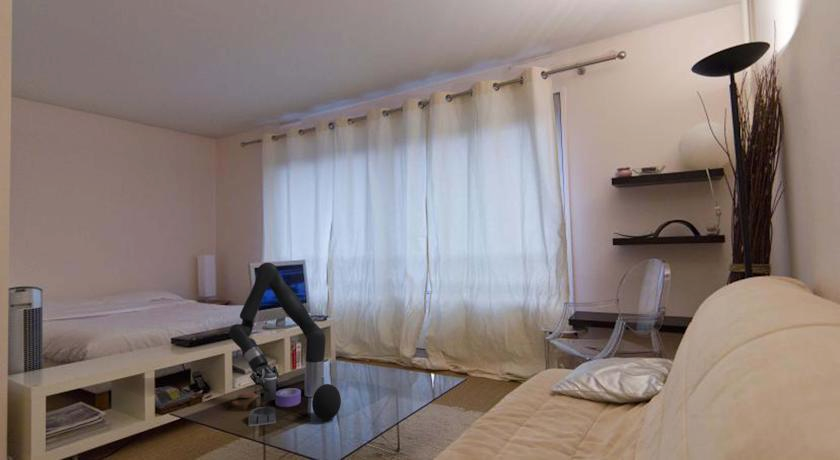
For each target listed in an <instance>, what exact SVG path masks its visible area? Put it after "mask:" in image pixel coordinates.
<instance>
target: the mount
mask: <svg viewBox="0 0 840 460" xmlns="http://www.w3.org/2000/svg"><path fill="white" fill-rule="evenodd" d="M271 424H277V418H276V408H275V407H271V406H260V407H256V408H253V409H251V410H250V411H249V414H248V427H256V426H257V427H258V426H265V425H271Z"/></svg>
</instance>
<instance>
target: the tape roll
mask: <svg viewBox="0 0 840 460" xmlns="http://www.w3.org/2000/svg"><path fill="white" fill-rule="evenodd" d="M301 395H302V390H301V389H299V388H296V387H294V388H293V387H288V388H282V389H279V390H276V399H274V400H275V403H274V404H275V405H276V406H277V407H285V408H288V407H289V408H290V407H294V406H298V405H299V404H300V403H301V400H302V399H301V397H302V396H301Z"/></svg>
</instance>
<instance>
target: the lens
mask: <svg viewBox="0 0 840 460" xmlns="http://www.w3.org/2000/svg"><path fill="white" fill-rule="evenodd" d="M264 379H265V383H267V385H268V387H269V388H270V390H269V391H268V392H266V391H264V390H263V400H264V401H266V402H268V401H269V402H270V401H274V400H275V399H276V392H277V388H276V379H277V380H278V378H277V376H276V373H267V374H265V378H264Z"/></svg>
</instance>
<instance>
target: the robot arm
mask: <svg viewBox="0 0 840 460" xmlns="http://www.w3.org/2000/svg"><path fill="white" fill-rule="evenodd" d="M256 272H257V273H256V276H255V279H254V280H255V281H254V283H253V286H252V288H251V291H250V293H249V295H248V297H247V298H246V299H245V300H246V301H245V303H244V305H243V306H242V309H241V311H240V313H239V318H240V320H242V321H241V324H239V323H236V324H233V325H231V327H230V328H229V330H228V333H229V337H230V339H231V340H232V341H233V342H234V344H235V345H236V346H238V347H239V349H240V350H241V352H242V354H243V356H244V357H245V360H246V363H247V364H248V366H249V368H250V369H251V372H252V373H251V374H250V375H249V379H251V380H252V381H253V383H254V384H255V385H256V386H261V387H262V389H263V392H264V391H266V392H268V391H269V390H270V388H269V387H268V385H267V383H265V379H264V378H265V374H267V373H276V376H277V379H276V389H278V388H279V387H280V382H279V380H278V378H279V377H280V374H279V372H278V368H277V366H276V365H273V366H270V365H269V362H268V360H267V358H266V356H265V355H264V352H263V351H262V350H261V349H260V347H259V346H258V343H257V342H256V341H255V339H253V338H252V337H250V335H251V334H252V332H253V328H254V322H255V318H256V315H257V313H258V312H259V309H260V307H261V304H262V301H263V298H264V297H265V296H264V295H265V294H266V291H267V290H268V288H270V290H271V291H272V292H273V294H274V296H275V298H276V300H277V302H278V304H279V306H280V307H281V308H282V310H283V311H284V313H285V314H286V315H287V316H288V318H290V319H291V320H292V321H293V323H295V324H296V325H297V326H298V328H299V329H300V330H301V332H302V334H303V335H304V337H305V339H306V348H305V351H306V352H305V364H304V366H305V368H304V390H303V392H304V397H307V398H313V396H314V393H315V392H316V390H317V389H318V388H319V387H320V386H322V385H324V384H325V375H324V373H325V372H324V370H325V366H324V365H325V355H326V354H325V353H326V335H325V333H324V331H323V330H322V329H321V328H320V326H318V324H317V323H316V322H315V321H314V320H313V319H312V317H311V316H310V313H309V312H308V310H307V309H306V307H305V305H304V304H303V302H302V301H301V300H300V297H298V296H297V294H296V293H295V291H294V290H292V288H291V287H290V286H289V285H288V284H287V283H286V282H285V280H284V279H283V277H282V275H281V274H280V272H279V270H278V268H277V266H276V265H275V264H274V263H272V262H263V263H261V264H260V265H259V266H258V268H257V271H256Z"/></svg>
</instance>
